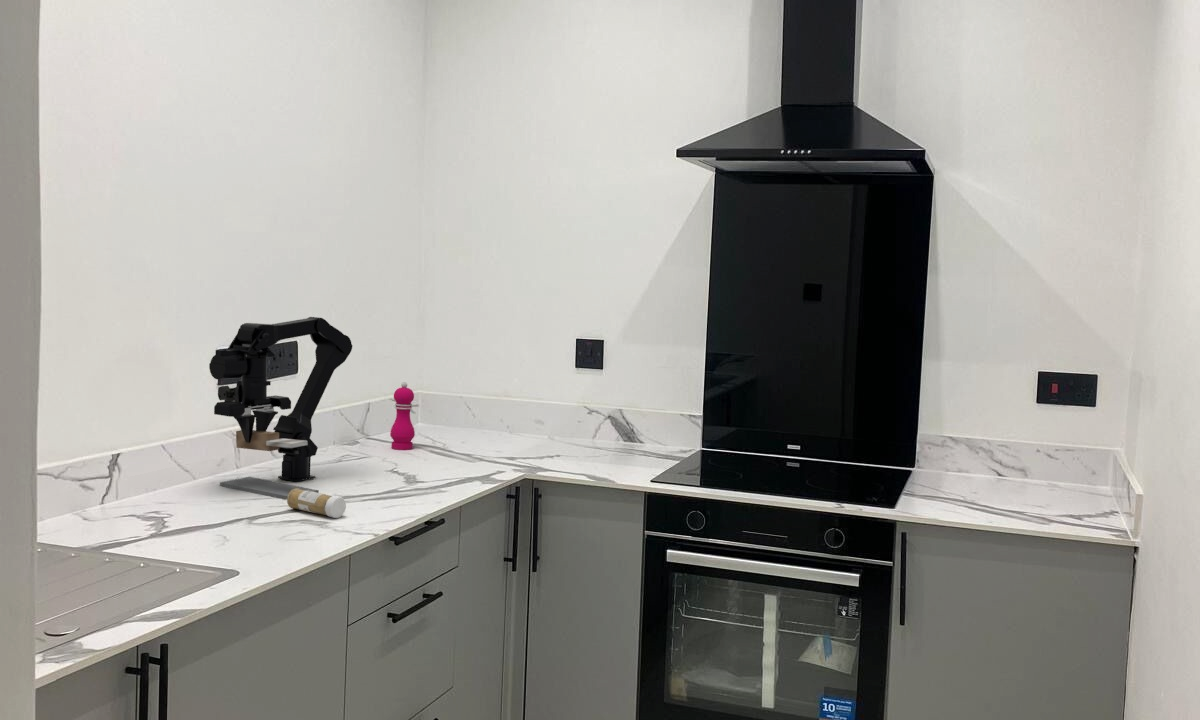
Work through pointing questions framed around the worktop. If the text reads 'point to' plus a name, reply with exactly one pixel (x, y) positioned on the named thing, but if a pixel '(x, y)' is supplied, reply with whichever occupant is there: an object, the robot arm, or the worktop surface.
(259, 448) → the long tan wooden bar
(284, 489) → the tool mat
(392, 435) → the pepper mill
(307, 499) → the sprinkles bottle
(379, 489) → the worktop surface
